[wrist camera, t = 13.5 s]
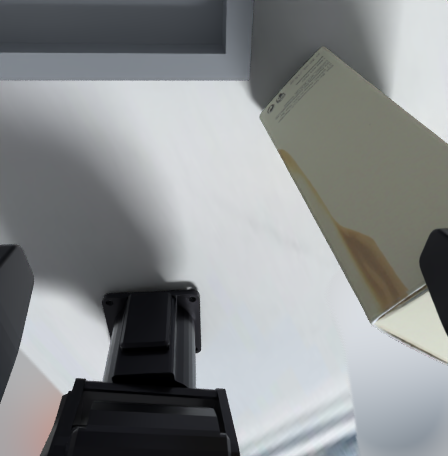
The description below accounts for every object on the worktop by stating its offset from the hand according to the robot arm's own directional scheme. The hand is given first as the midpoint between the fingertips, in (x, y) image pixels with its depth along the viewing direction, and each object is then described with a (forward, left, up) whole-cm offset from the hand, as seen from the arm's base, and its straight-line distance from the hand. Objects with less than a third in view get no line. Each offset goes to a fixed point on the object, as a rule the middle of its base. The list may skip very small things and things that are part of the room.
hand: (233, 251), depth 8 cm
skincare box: (-2, -6, -12) cm, 14 cm away
